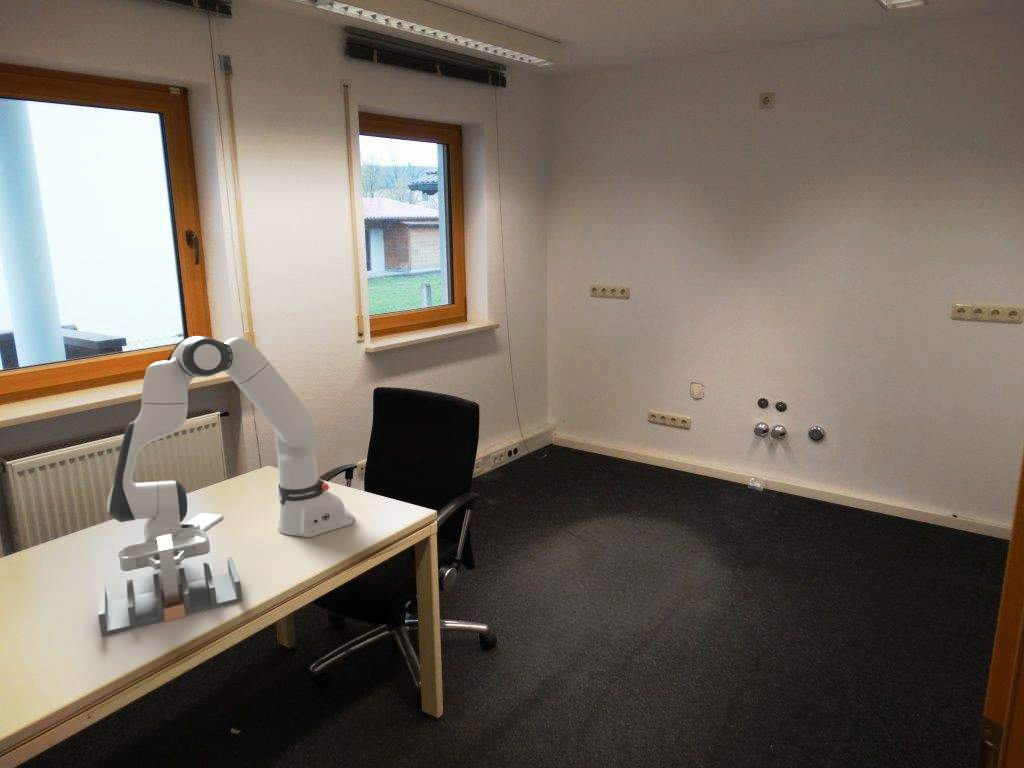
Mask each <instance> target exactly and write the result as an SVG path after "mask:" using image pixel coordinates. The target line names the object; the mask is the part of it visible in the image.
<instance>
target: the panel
mask: <svg viewBox="0 0 1024 768" xmlns="http://www.w3.org/2000/svg"><path fill="white" fill-rule="evenodd" d="M157 541H158V549H159V557H160V564H161V569H160V571H161V578H162V579H161V580H162V587H163V588H164V594H165V602H166V604H168V603H172V602H176V601H180V600H179V592H178V585H179V584H178V578H177V571H176V566H175V561H174V553H173V546H172V540H171V535H166V536H161V537H157Z"/></svg>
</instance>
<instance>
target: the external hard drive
mask: <svg viewBox="0 0 1024 768" xmlns="http://www.w3.org/2000/svg"><path fill="white" fill-rule="evenodd" d="M223 519H224V514H216V513H207V512H200V513H199V514H197V515H196V516H194V517H192V518H190V519H189V520H188V521H187V522H185V523H184V524H199V526H200V530H203V531H204V530H205V531H207V530H208V529H209V528H210V526H211V527H212V526H214V525H215V524H217V523H218V522H219V521H221V520H223ZM213 524H214V525H213ZM207 528H208V529H207ZM205 531H204V532H205Z"/></svg>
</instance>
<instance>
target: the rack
mask: <svg viewBox="0 0 1024 768" xmlns="http://www.w3.org/2000/svg"><path fill="white" fill-rule="evenodd" d="M226 561H227V568H228V569H227V570H228V573H226V574H221V575H216V576H213V575H212V571H211V568H210V563H209V562H203V563H202V565H203V572H204V574H203V575H204V579H200V580H196V581H191V582H187V578H186V573H185V567H182V568H178V573H179V574H178V575H179V581H180V583H179V584H177V585H178V592H179V600H180V601H176V602H172V603H168V604H166V602H165V594H164V587H163V588H161V581H160V573H154V574H152V576H153V586H154V590H153V591H148V592H144V593H139V594H135V589H134V588H135V587H134V581H133V578H131V579H127V580H126V595H127V596H126V597H122V598H117V599H114V600H110V601H109V600H108V594H107V593H108V592H107V587H106V585H100V586H99V593H98V594H99V595H98V612H97V613H98V621H99V628H100V634H101V637H104V636H109V635H112V634H117V633H120V632H124V630H125V631H129V630H133V629H137V628H140V626H141V627H144V625H145V626H148V625H152V624H157V623H160V622H170V621H174V620H177V618H178V619H181V617H182V618H185V617H184V616H187V615H186V614H189V615H191V614H190V613H192V614H195V613H194V612H196V613H200V612H203V611H202V610H204V611H207V610H206V609H208V610H211V609H210V608H212V609H214V608H213V607H216V608H218V607H217V606H220V607H222V606H221V605H224V606H227V605H226V604H228V605H231V603H232V604H235V602H236V603H239V602H238V601H240V602H243V594H242V586H241V579H240V577H239V573H238V571H237V567H236V565H235V561H234V559H233V556H231V557H230V556H229V557H227V559H226ZM199 611H200V612H199ZM173 619H174V620H173ZM136 627H137V628H136ZM128 629H129V630H128ZM116 632H117V633H116Z"/></svg>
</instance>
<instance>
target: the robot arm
mask: <svg viewBox="0 0 1024 768" xmlns="http://www.w3.org/2000/svg"><path fill="white" fill-rule="evenodd" d="M221 372H223V373H225V374H226V375H227V376H229V377H230V379H231V380H232V381H233V382H234V384H235V385H236V386H237V387H238V388H239V390H240V391H241V392H242V393H243V395H245V396H246V397H247V399H248V400H249V401H250V402H251V403H252V404H253V406H254V407H255V408H256V409H257V411H258V412H259V414H260V415H261V416H262V417H263V418H264V420H265V422H266V423H267V424H268V425H269V427H270V428H271V429H272V430H273V432H274V441H275V450H276V456H277V465H278V477H279V479H278V480H279V484H278V499H279V503H280V513H279V521H278V524H277V525H278V526H277V530H278V532H280V533H282V534H284V535H287V536H297V537H302V538H312V537H316V536H318V535H322V534H325V533H328V532H331V531H335V530H337V529H340V528H344V527H348V526H350V525H352V524H353V523H354V515H353V514H352V512H351V511H350V510H349V509H348V508H347V507H345V505H344V503H343V500H342V499H341V498H340V497H339V496H338V495H336V494H334V493H332V492H330V491H328V490H330V486H329V484H328V483H327V482H325V481H324V480H322V479H321V478H320V477H318V467H317V454H316V449H315V444H314V443H315V442H314V439H315V437H316V434H317V427H318V426H317V421H316V418H315V417H314V416H313V414H312V412H311V411H310V408H309V407H308V406H307V404H305V403H304V402H303V401H302V400H301V399H300V398H299V397H298V396H297V394H296V393H295V392H294V391H293V390H292V388H291V387H290V385H289V384H288V383H287V382H286V380H285V379H284V378H283V376H281V374H280V373H279V371H278V370H277V369H276V368H275V367H274V366H273V364H272V363H271V362H270V360H269V359H268V358H267V357H266V356H265V354H263V353H262V352H261V351H260V349H258V348H257V347H256V346H255V345H254V344H253V343H252V342H250V341H249V340H248V339H246V338H245V337H242V336H235V337H231V338H229V339H227V340H225V341H224V342H223V341H220V340H218V339H215V338H214V337H213V338H212V337H208V336H202V335H195V336H191V337H186V338H183V339H182V340H180V341H179V342H178V343H177V344H176V345H175V346H174V348H173V350H172V351H171V353H170V354H169V355H168V357H167V359H166V360H159V361H155V362H153V363H151V364H149V366H147V368H146V370H145V374H144V377H143V378H144V379H143V383H142V389H141V404H140V405H141V407H140V411H139V414H137V417H136V418H135V420H133V421H130V422H129V423H128V424H127V427H126V429H125V431H124V434H123V439H122V442H121V447H120V451H119V454H118V459H117V465H116V470H115V475H114V479H113V483H112V486H111V489H110V490H109V494H108V495H107V496H108V497H107V500H106V501H107V502H106V507H107V508H106V509H107V512H108V515H109V516H110V517H111V518H113V520H116V521H117V522H118V523H125V522H131V521H136V520H144V527H143V533H144V542H141V543H137V544H132V545H131V544H130V545H128V546H125V547H123V549H122V550H120V551H118V558H119V564H120V570H121V571H123V572H129V571H130V572H131V571H133V570H138V569H143V568H148V567H149V568H152V569H153V570H154V571H158V570H161V564H160V557H159V549H158V541H157V537H161V536H166V535H171V540H172V546H173V553H174V561H175V567H176V566H181V565H182V562H183V561H184V560H185V559H189V558H194V557H199V556H203V555H207V554H209V553H210V552H211V545H210V539H209V536H208V535H207V533H206V532H205V531H203V530H200V526H199V524H185V523H183V524H182V522H183V521H184V519H185V518H186V517H187V513H188V497H187V493H186V492H187V491H186V488H185V487H184V485H182V484H181V482H179V481H178V480H157V481H144V482H142V481H139V482H134V481H133V480H132V479H133V474H134V469H135V465H136V461H137V456H138V453H139V452H140V450H141V449H142V448H143V447H144V446H146V445H148V444H149V443H151V442H154V441H157V440H160V439H162V438H165V437H168V436H171V435H172V434H174V433H175V432H178V430H180V429H181V428H182V427H183V426H184V424H185V423H186V422H187V417H188V406H189V405H188V404H189V403H188V402H189V396H188V395H189V394H188V391H189V387H190V384H191V382H192V381H193V379H194V378H203V377H205V378H206V377H211V376H215V375H217V374H219V373H221Z"/></svg>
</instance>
